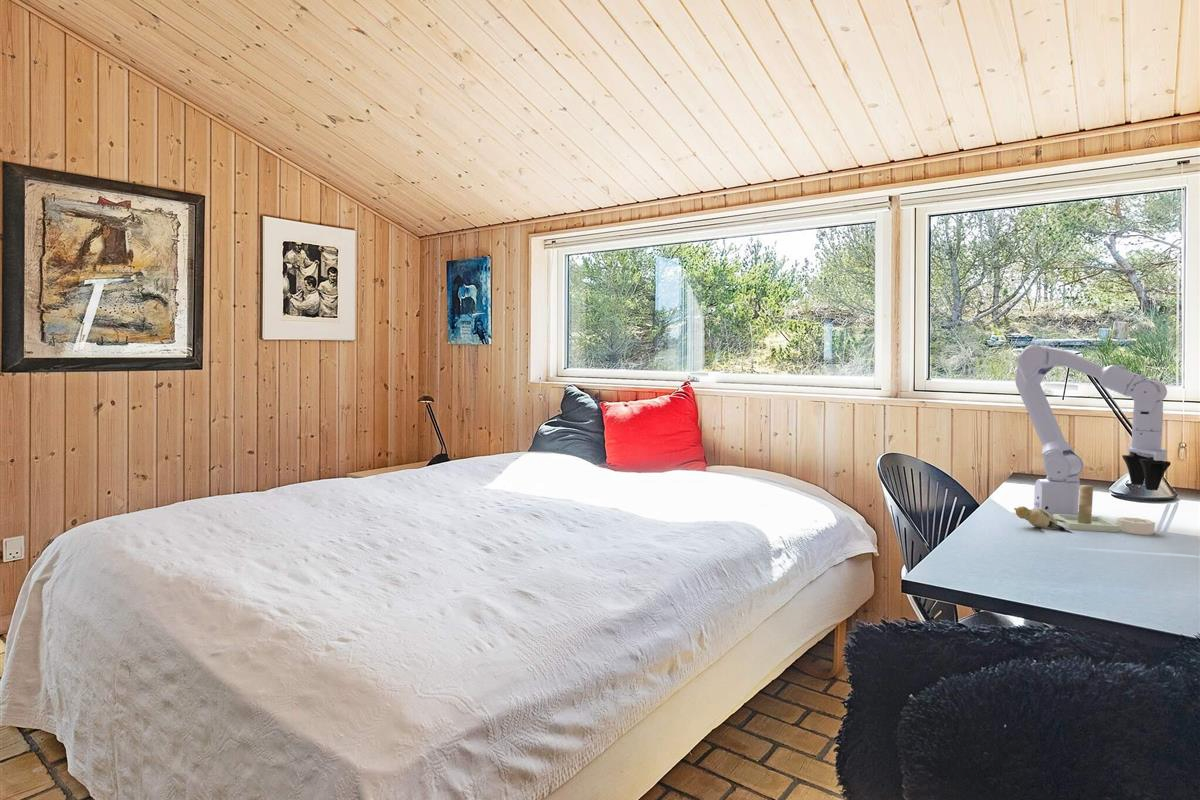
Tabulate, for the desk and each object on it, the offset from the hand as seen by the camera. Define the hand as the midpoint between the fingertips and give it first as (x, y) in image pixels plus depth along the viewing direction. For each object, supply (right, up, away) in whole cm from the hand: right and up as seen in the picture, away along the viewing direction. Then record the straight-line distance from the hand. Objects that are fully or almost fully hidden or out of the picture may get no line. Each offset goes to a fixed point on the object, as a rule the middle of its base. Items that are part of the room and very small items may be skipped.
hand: (1144, 487), depth 174 cm
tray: (-15, -9, -1) cm, 18 cm away
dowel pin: (-15, -9, -1) cm, 17 cm away
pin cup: (-7, -10, -7) cm, 14 cm away
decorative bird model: (-26, -10, -4) cm, 28 cm away
